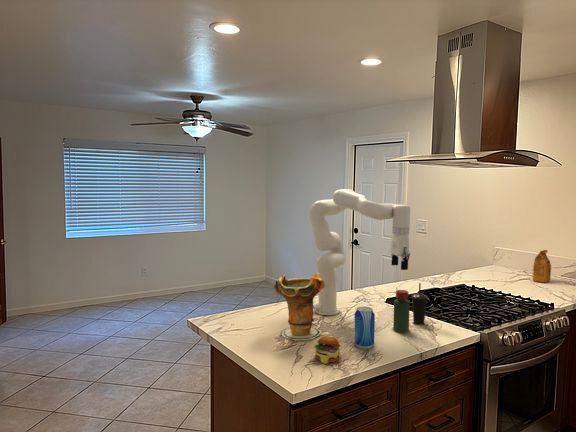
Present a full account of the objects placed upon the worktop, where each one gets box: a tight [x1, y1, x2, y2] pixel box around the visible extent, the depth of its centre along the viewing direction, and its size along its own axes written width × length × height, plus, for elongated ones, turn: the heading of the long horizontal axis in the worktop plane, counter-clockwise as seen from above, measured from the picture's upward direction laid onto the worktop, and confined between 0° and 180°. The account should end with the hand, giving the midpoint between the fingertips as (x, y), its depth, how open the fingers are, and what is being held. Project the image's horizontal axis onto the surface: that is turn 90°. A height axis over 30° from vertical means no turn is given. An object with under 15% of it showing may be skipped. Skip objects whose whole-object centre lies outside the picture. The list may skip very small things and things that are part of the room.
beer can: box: [353, 306, 376, 350], centre depth 175 cm, size 8×8×16 cm
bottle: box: [392, 296, 411, 334], centre depth 193 cm, size 7×7×18 cm
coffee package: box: [532, 249, 552, 283], centre depth 288 cm, size 10×12×22 cm
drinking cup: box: [411, 282, 429, 326], centre depth 203 cm, size 8×8×20 cm
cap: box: [395, 289, 410, 300], centre depth 192 cm, size 5×5×3 cm
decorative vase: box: [273, 272, 325, 341], centre depth 188 cm, size 21×23×28 cm
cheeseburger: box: [313, 335, 342, 364], centre depth 163 cm, size 10×11×10 cm
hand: (399, 267), depth 193 cm, fingers open, 9 cm apart
